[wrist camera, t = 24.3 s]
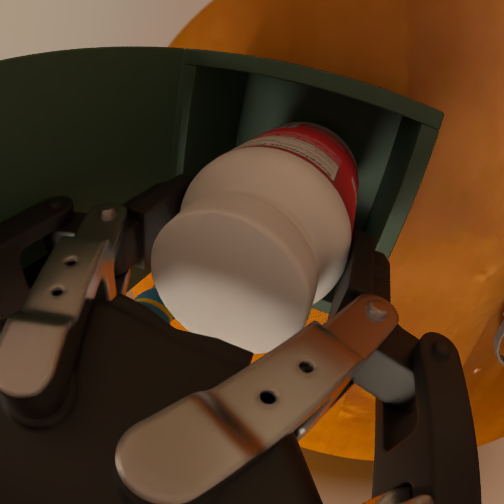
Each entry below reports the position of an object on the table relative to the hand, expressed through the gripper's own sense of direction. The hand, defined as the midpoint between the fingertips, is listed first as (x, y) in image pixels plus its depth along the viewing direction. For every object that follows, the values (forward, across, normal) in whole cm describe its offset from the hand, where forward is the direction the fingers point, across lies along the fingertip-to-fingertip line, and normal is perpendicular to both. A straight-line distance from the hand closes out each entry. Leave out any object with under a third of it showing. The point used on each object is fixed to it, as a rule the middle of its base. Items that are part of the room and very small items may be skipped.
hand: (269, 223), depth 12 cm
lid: (-4, +6, 0) cm, 7 cm away
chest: (+11, 0, 0) cm, 11 cm away
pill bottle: (+7, 0, 0) cm, 7 cm away
